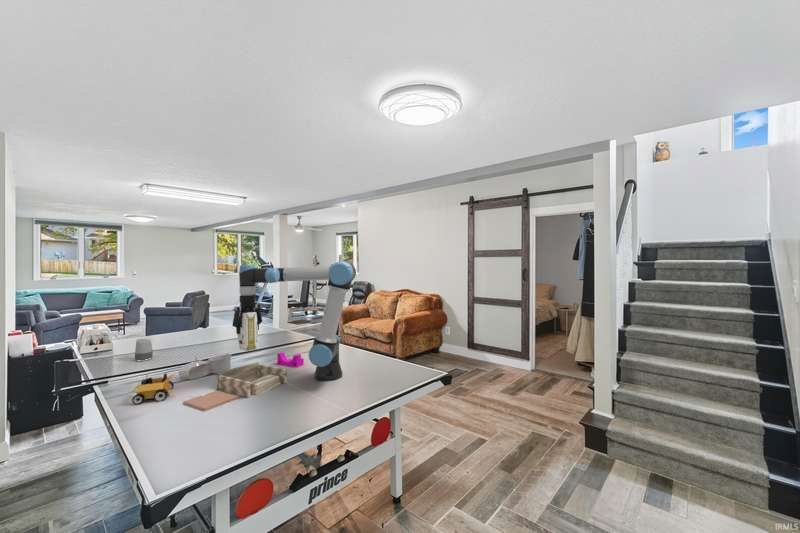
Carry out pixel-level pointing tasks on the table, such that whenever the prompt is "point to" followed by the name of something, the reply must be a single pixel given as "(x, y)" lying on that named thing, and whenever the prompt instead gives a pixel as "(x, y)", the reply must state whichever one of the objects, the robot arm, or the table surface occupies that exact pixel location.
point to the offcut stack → (264, 384)
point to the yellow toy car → (153, 389)
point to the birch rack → (247, 378)
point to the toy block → (290, 360)
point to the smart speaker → (143, 349)
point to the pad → (210, 400)
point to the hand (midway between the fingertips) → (248, 338)
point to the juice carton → (249, 331)
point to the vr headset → (195, 370)
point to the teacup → (220, 363)
